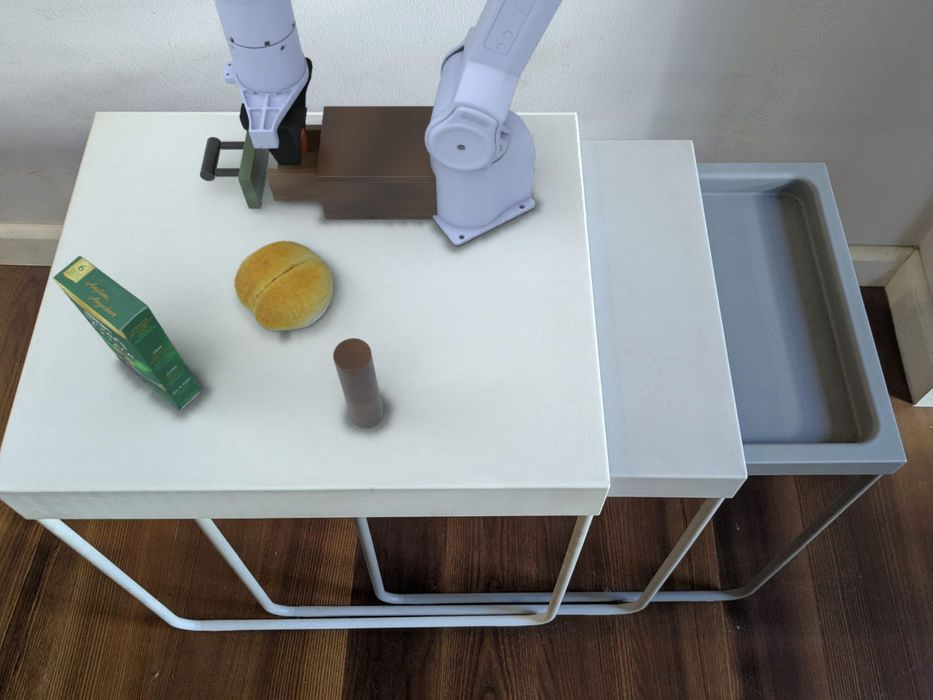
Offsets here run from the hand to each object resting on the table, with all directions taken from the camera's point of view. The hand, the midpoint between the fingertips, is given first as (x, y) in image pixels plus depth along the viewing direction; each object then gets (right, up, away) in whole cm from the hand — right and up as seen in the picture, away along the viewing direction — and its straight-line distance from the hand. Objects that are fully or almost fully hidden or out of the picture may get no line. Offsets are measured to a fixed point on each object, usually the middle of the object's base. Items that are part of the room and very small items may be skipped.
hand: (292, 147), depth 74 cm
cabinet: (+9, -3, +5) cm, 10 cm away
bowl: (0, 0, 0) cm, 0 cm away
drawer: (-2, -2, +4) cm, 4 cm away
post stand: (+8, -25, -8) cm, 27 cm away
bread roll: (0, -14, -2) cm, 14 cm away
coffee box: (-10, -22, -6) cm, 25 cm away
